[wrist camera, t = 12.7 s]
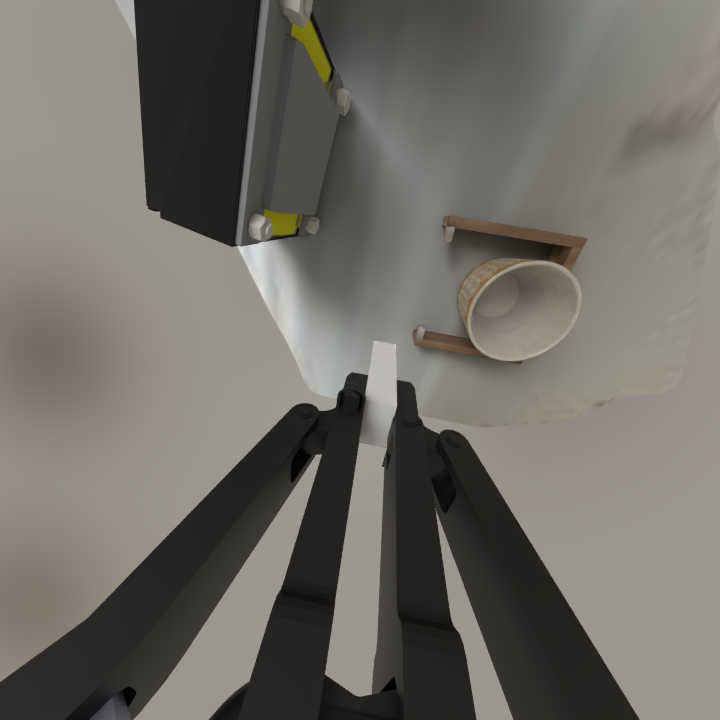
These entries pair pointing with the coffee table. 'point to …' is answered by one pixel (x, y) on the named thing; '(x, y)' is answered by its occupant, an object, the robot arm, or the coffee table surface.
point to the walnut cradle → (561, 254)
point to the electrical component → (236, 115)
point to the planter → (518, 307)
